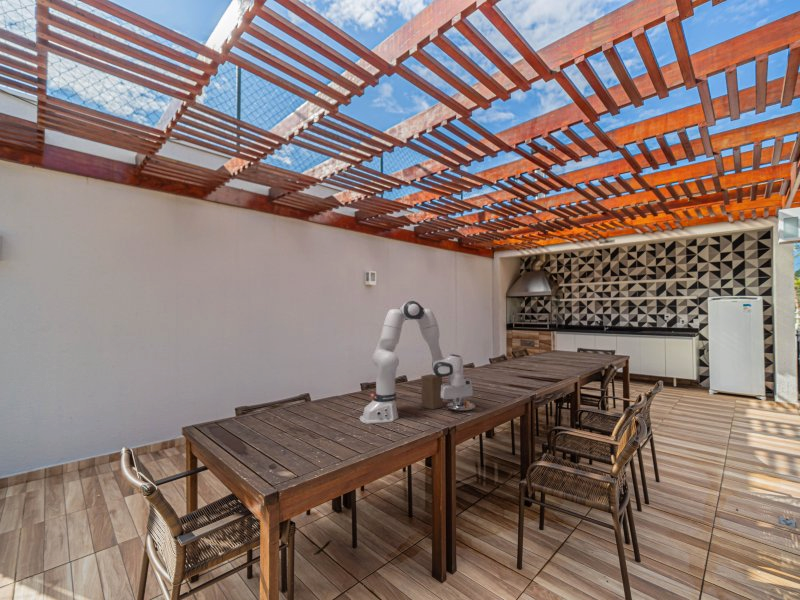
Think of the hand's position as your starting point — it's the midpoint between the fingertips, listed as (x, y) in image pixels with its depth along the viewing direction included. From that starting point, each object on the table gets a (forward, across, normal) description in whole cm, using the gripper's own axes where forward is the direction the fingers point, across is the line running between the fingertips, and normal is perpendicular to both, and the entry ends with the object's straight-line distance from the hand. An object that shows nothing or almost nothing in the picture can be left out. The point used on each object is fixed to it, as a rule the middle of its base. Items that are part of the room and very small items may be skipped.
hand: (457, 405), depth 214 cm
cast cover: (+2, +6, +7) cm, 10 cm away
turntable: (+5, +7, +7) cm, 11 cm away
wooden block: (+5, -7, +19) cm, 21 cm away
